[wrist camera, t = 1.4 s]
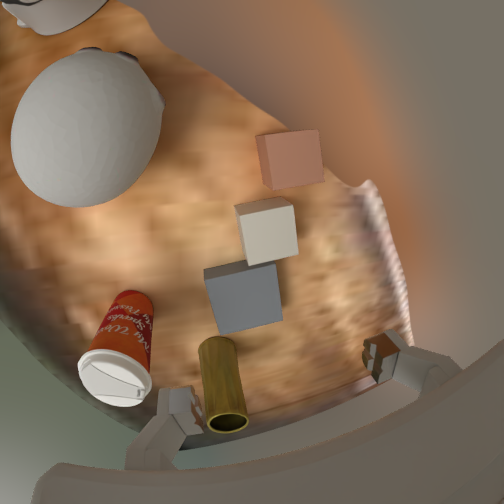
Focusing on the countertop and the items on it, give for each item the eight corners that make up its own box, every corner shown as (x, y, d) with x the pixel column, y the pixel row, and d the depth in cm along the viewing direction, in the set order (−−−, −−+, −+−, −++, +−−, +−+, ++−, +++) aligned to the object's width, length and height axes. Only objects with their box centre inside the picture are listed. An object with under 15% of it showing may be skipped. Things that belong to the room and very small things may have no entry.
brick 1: (255, 136, 31) (264, 135, 26) (301, 130, 31) (318, 129, 27) (262, 183, 33) (273, 190, 29) (308, 175, 34) (324, 181, 29)
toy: (189, 87, 27) (182, 44, 13) (145, 205, 31) (109, 252, 18) (82, 62, 22) (21, 27, 9) (46, 174, 27) (-27, 201, 13)
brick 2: (233, 205, 34) (239, 215, 29) (280, 196, 34) (293, 205, 30) (242, 249, 36) (248, 265, 32) (286, 239, 37) (298, 254, 32)
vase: (206, 331, 40) (214, 407, 27) (242, 342, 42) (261, 414, 29) (192, 358, 42) (196, 431, 29) (226, 366, 44) (239, 437, 31)
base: (203, 269, 36) (204, 280, 33) (269, 254, 37) (275, 263, 34) (218, 322, 40) (220, 335, 37) (277, 308, 41) (283, 320, 38)
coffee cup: (166, 291, 36) (155, 371, 23) (156, 335, 39) (147, 415, 25) (109, 275, 34) (71, 348, 20) (104, 322, 36) (77, 397, 23)
